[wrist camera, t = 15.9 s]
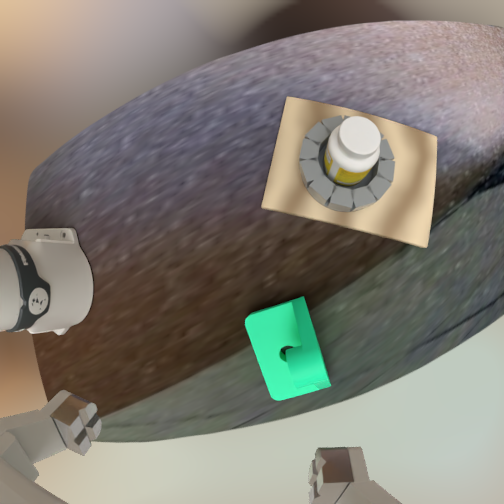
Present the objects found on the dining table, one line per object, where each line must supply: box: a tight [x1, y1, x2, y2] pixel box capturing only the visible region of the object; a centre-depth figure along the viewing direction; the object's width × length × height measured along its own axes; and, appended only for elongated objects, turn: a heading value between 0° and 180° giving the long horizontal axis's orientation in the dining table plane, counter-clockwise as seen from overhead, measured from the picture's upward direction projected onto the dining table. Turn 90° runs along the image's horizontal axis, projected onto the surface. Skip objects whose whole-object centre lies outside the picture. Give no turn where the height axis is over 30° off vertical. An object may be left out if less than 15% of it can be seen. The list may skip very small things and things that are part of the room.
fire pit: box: [299, 115, 395, 212], centre depth 32 cm, size 11×11×4 cm
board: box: [261, 97, 437, 248], centre depth 34 cm, size 22×16×1 cm
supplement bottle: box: [323, 116, 381, 187], centre depth 28 cm, size 5×5×10 cm
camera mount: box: [245, 296, 331, 400], centre depth 31 cm, size 12×8×10 cm, turn 18°
